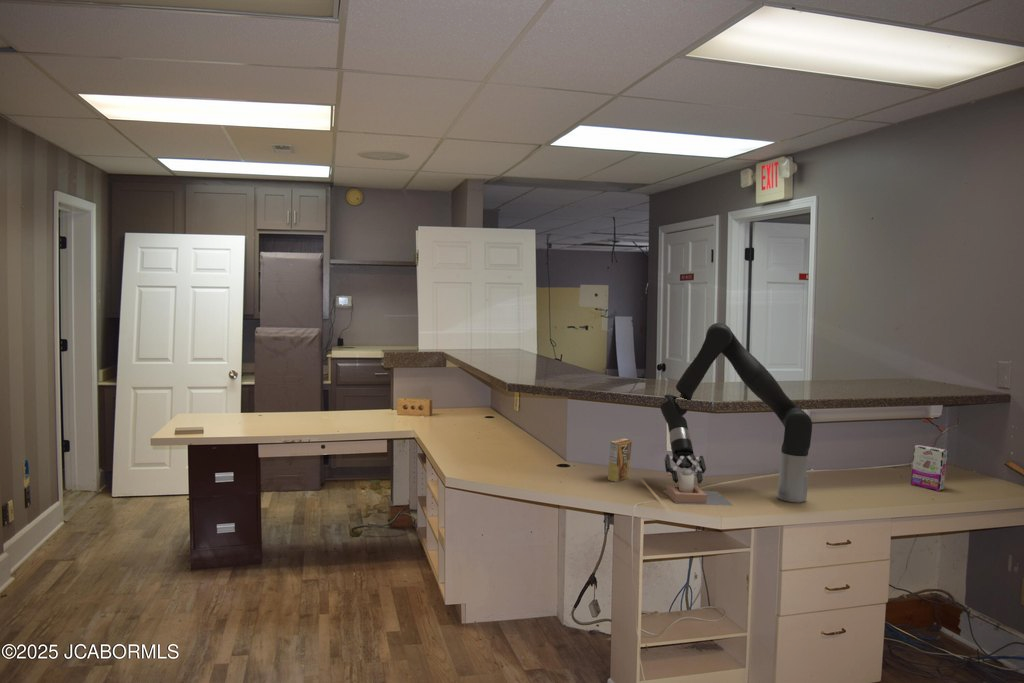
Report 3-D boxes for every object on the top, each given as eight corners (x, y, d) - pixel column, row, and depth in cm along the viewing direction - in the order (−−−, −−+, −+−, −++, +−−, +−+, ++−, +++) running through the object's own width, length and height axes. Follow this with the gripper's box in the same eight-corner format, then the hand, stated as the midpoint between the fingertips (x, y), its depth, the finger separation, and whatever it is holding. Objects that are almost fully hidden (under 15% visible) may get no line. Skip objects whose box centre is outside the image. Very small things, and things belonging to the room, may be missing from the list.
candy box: (620, 476, 294) (623, 438, 293) (629, 478, 291) (632, 440, 290) (607, 479, 288) (609, 441, 286) (616, 482, 285) (619, 443, 284)
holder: (717, 494, 276) (718, 483, 275) (733, 508, 260) (734, 496, 259) (662, 493, 274) (663, 482, 273) (675, 507, 258) (676, 495, 258)
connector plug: (690, 495, 268) (692, 468, 267) (694, 500, 263) (696, 472, 262) (676, 495, 268) (678, 468, 267) (680, 499, 263) (682, 472, 262)
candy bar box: (944, 489, 299) (948, 449, 297) (939, 491, 295) (943, 451, 294) (914, 482, 307) (919, 443, 305) (909, 484, 304) (913, 445, 302)
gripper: (664, 436, 270) (671, 476, 260) (702, 438, 271) (711, 477, 261) (659, 447, 276) (666, 486, 266) (696, 448, 277) (704, 488, 267)
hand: (688, 482), depth 263 cm, fingers open, 8 cm apart
